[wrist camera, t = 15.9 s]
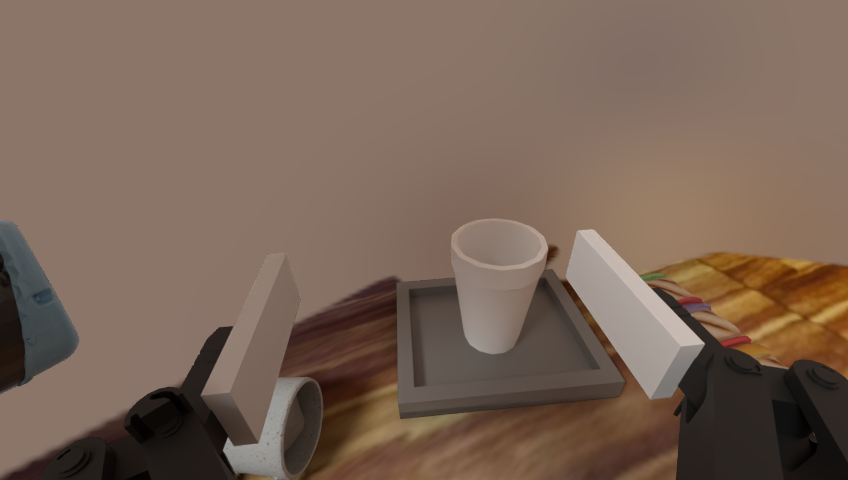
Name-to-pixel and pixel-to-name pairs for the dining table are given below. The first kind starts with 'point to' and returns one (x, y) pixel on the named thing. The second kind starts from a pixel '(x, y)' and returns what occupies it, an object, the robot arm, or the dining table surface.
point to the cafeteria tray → (496, 373)
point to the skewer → (712, 320)
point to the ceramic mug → (284, 432)
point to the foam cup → (496, 279)
